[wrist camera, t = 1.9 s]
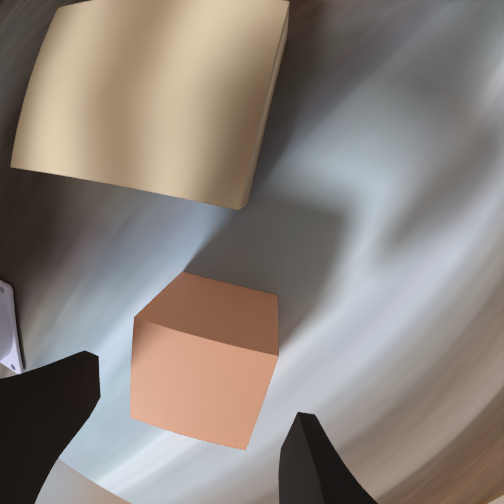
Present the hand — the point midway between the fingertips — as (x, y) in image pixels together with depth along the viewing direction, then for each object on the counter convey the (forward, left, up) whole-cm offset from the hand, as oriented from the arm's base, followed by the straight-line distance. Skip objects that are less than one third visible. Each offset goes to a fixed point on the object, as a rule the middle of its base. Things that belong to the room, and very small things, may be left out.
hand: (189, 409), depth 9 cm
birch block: (-6, +11, -7) cm, 14 cm away
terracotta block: (0, 0, -7) cm, 7 cm away
